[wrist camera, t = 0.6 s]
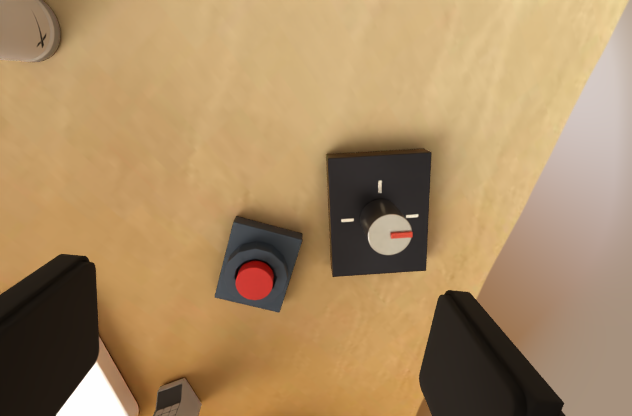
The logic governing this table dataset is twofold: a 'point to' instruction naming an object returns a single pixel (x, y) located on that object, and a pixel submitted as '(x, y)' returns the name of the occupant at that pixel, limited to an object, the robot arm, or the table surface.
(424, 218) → the panel
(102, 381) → the computer
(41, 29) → the travel mug
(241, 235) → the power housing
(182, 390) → the vintage mobile phone
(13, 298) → the robot arm
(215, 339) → the table surface
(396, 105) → the table surface
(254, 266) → the power button
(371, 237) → the hob knob
